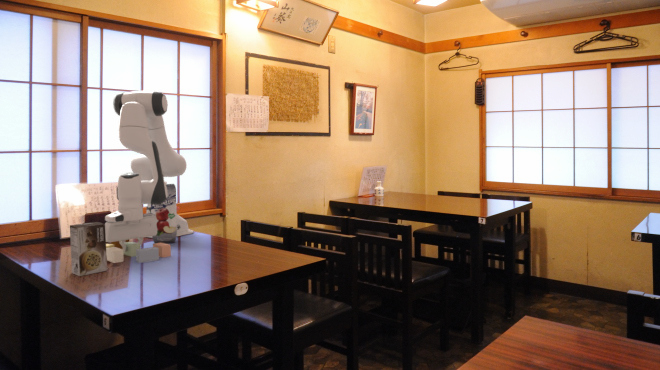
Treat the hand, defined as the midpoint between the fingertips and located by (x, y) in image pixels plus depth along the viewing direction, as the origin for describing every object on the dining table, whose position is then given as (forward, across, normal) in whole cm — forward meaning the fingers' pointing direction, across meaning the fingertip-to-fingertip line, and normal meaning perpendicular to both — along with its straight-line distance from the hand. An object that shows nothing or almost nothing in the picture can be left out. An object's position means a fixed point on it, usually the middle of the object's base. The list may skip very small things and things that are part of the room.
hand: (131, 250), depth 182 cm
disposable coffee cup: (+2, -2, -14) cm, 14 cm away
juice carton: (+2, -22, -14) cm, 26 cm away
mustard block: (+2, +8, -6) cm, 10 cm away
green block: (+2, 0, 0) cm, 2 cm away
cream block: (+2, +9, +5) cm, 10 cm away
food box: (+2, +22, +15) cm, 27 cm away
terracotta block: (+2, -7, +10) cm, 12 cm away
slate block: (+2, +1, +14) cm, 14 cm away
